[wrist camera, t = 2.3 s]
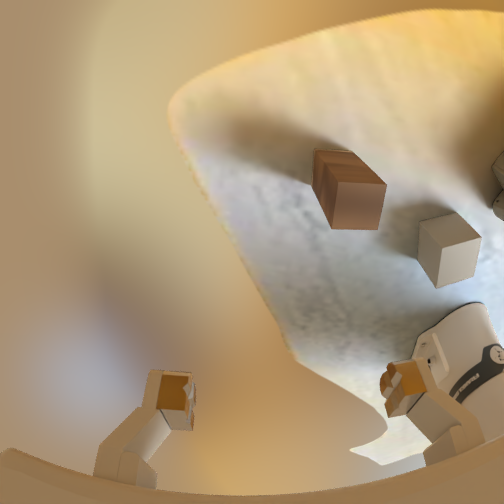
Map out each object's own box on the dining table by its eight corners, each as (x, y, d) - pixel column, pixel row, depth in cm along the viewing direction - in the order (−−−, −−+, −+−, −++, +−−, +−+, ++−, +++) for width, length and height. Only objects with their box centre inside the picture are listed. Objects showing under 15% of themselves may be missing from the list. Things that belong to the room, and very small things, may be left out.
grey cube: (452, 249, 36) (473, 276, 31) (416, 259, 37) (436, 288, 32) (456, 212, 33) (481, 237, 28) (419, 221, 34) (442, 248, 29)
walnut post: (347, 187, 31) (377, 229, 24) (311, 185, 31) (331, 229, 24) (352, 151, 29) (386, 184, 22) (314, 148, 29) (338, 181, 22)
